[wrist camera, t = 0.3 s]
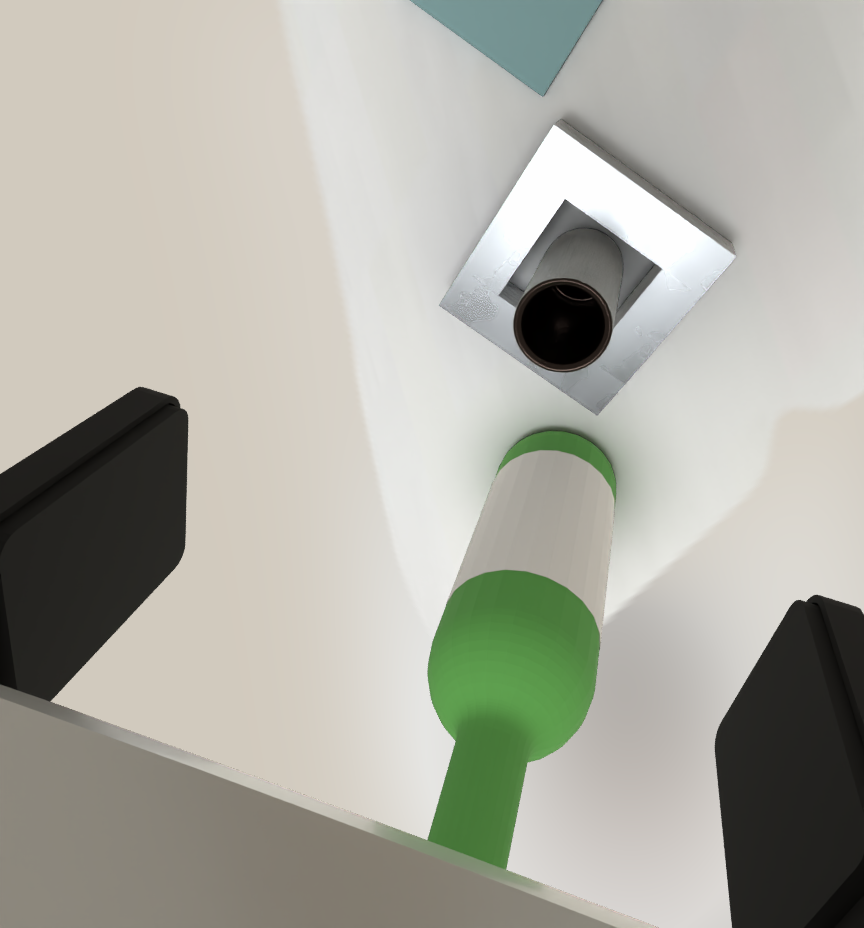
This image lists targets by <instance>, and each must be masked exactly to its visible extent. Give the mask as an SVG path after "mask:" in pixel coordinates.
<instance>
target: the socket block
mask: <svg viewBox="0 0 864 928" xmlns="http://www.w3.org/2000/svg"><path fill="white" fill-rule="evenodd" d="M564 199H566V200H567V201H569V202H570V203H572V204H573V205H574V206H576V207H577V208H579V209H580V210H581V211H583V212H584V213H585V214H587V215H588V216H590V217H591V218H592V219H594V220H595V221H597V222H598V223H599V224H601V225H602V226H604V227H605V228H606V229H608V230H609V231H611V232H612V233H613V234H615V235H616V236H618V237H619V238H620V239H622V240H623V241H625V242H626V243H627V244H629V245H630V246H632V247H633V248H634V249H636V250H637V251H638V252H640V253H641V254H643V255H644V256H645V257H647V258H648V259H650V260H651V261H652V262H654V263H655V265H654V266H653V267H652V269H651V270H650V271H649V272H648V274H647V275H646V276H645V277H644V278H643V280H642V281H641V282H640V283H639V285H638V286H637V287H636V288H635V290H634V291H633V292H632V293H631V295H630V296H629V297H628V298H627V299H626V301H625V302H624V303H623V304H622V306H621V307H620V308H619V309H618V311H617V312H616V317H615V322H614V328H613V333H612V337H611V341H610V343H609V345H608V347H607V349H606V350H605V352H604V353H603V355H602V356H601V357H600V358H599V359H598V360H597V361H595V362H594V363H593V364H591V365H590V366H588V367H586V368H584V369H581V370H578V371H574V372H568V373H559V372H552V371H548V370H545V369H543V368H541V367H539V366H537V365H535V364H534V363H532V362H531V361H530V360H529V359H528V358H527V357H526V356H525V355H524V354H523V353H522V351H521V350H520V348H519V346H518V344H517V342H516V340H515V336H514V332H513V318H514V313H515V310H516V307H517V305H518V303H519V301H520V299H521V297H522V295H523V293H524V292H523V291H522V290H520V289H519V288H517V287H516V286H515V285H513V284H512V283H510V282H509V279H510V278H511V277H512V275H513V274H514V272H515V271H516V269H517V268H518V266H519V265H520V263H521V262H522V261H523V259H524V258H525V256H526V255H527V253H528V252H529V250H530V249H531V247H532V246H533V245H534V243H535V242H536V240H537V239H538V237H539V236H540V234H541V233H542V231H543V230H544V229H545V227H546V226H547V224H548V223H549V221H550V220H551V218H552V217H553V215H554V214H555V213H556V211H557V210H558V208H559V207H560V205H561V204H562V202H563V201H564ZM735 258H736V254H735V251H734V248H733V245H732V243H731V242H730V241H729V240H727V239H726V238H724V237H723V236H722V235H720V234H719V233H717V232H716V231H715V230H713V229H712V228H711V227H709V226H708V225H706V224H705V223H704V222H702V221H701V220H700V219H698V218H697V217H695V216H694V215H693V214H691V213H690V212H689V211H687V210H686V209H684V208H683V207H682V206H680V205H679V204H678V203H676V202H675V201H673V200H672V199H671V198H669V197H668V196H666V195H665V194H664V193H662V192H661V191H660V190H658V189H657V188H655V187H654V186H653V185H651V184H650V183H649V182H647V181H646V180H644V179H643V178H642V177H640V176H639V175H638V174H636V173H635V172H633V171H632V170H631V169H629V168H628V167H627V166H625V165H624V164H622V163H621V162H620V161H618V160H617V159H615V158H614V157H613V156H611V155H610V154H609V153H607V152H606V151H604V150H603V149H602V148H600V147H599V146H598V145H596V144H595V143H593V142H592V141H591V140H589V139H588V138H587V137H585V136H584V135H582V134H581V133H580V132H578V131H577V130H575V129H574V128H573V127H571V126H570V125H569V124H567V123H566V122H564V121H563V120H562V119H560V120H559V121H558V122H557V123H555V124H554V125H553V127H552V128H551V130H550V132H549V133H548V135H547V136H546V138H545V139H544V141H543V143H542V144H541V146H540V147H539V149H538V150H537V152H536V154H535V155H534V157H533V158H532V160H531V161H530V163H529V164H528V166H527V168H526V169H525V171H524V172H523V174H522V175H521V177H520V179H519V180H518V182H517V183H516V185H515V186H514V188H513V190H512V191H511V193H510V194H509V196H508V197H507V199H506V201H505V202H504V204H503V205H502V207H501V208H500V210H499V212H498V213H497V215H496V216H495V218H494V219H493V221H492V223H491V224H490V226H489V227H488V229H487V230H486V232H485V234H484V235H483V237H482V238H481V240H480V241H479V243H478V244H477V246H476V248H475V249H474V251H473V252H472V254H471V255H470V257H469V259H468V260H467V262H466V263H465V265H464V266H463V268H462V270H461V271H460V273H459V274H458V276H457V277H456V279H455V281H454V282H453V284H452V285H451V287H450V288H449V290H448V292H447V293H446V295H445V296H444V298H443V299H442V301H441V303H440V304H439V306H440V307H442V308H443V309H445V310H446V311H448V312H449V313H450V314H452V315H453V316H455V317H456V318H458V319H459V320H461V321H462V322H463V323H465V324H466V325H468V326H469V327H471V328H472V329H473V330H475V331H476V332H478V333H479V334H481V335H482V336H483V337H485V338H486V339H488V340H489V341H491V342H492V343H494V344H495V345H496V346H498V347H499V348H501V349H502V350H504V351H505V352H506V353H508V354H509V355H511V356H512V357H514V358H515V359H517V360H518V361H519V362H521V363H522V364H524V365H525V366H527V367H528V368H529V369H531V370H532V371H534V372H535V373H537V374H538V375H540V376H541V377H542V378H544V379H545V380H547V381H548V382H550V383H551V384H552V385H554V386H555V387H557V388H558V389H560V390H561V391H562V392H564V393H565V394H567V395H568V396H570V397H571V398H573V399H574V400H575V401H577V402H578V403H580V404H581V405H583V406H584V407H585V408H587V409H588V410H590V411H591V412H593V413H594V414H596V415H598V414H599V413H600V412H601V411H602V410H603V409H604V407H605V406H606V405H607V404H608V403H609V402H610V401H611V399H612V398H613V397H614V396H615V395H616V394H617V393H618V391H619V390H620V389H621V388H622V387H623V386H624V385H625V383H626V382H627V381H628V380H629V379H630V378H631V377H632V375H633V374H634V373H635V372H636V371H637V370H638V369H639V367H640V366H641V365H642V364H643V363H644V362H645V361H646V360H647V358H648V357H649V356H650V355H651V354H652V353H653V352H654V350H655V349H656V348H657V347H658V346H659V345H660V344H661V342H662V341H663V340H664V339H665V338H666V337H667V336H668V334H669V333H670V332H671V331H672V330H673V329H674V328H675V326H676V325H677V324H678V323H679V322H680V321H681V320H682V319H683V317H684V316H685V315H686V314H687V313H688V312H689V311H690V309H691V308H692V307H693V306H694V305H695V304H696V303H697V301H698V300H699V299H700V298H701V297H702V296H703V295H704V293H705V292H706V291H707V290H708V289H709V288H710V287H711V285H712V284H713V283H714V282H715V281H716V280H717V279H718V277H719V276H720V275H721V274H722V273H723V272H724V271H725V270H726V268H727V267H728V266H729V265H730V264H731V263H732V262H733V260H734V259H735Z"/></svg>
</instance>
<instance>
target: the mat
mask: <svg viewBox="0 0 864 928" xmlns="http://www.w3.org/2000/svg"><path fill="white" fill-rule="evenodd" d="M410 1H411V2H413V3H414V4H416V5H417V6H418V7H420V8H421V9H422V10H424V11H425V12H427V13H428V14H429V15H431V16H432V17H433V18H435V19H436V20H438V21H439V22H440V23H442V24H443V25H444V26H446V27H447V28H449V29H450V30H451V31H453V32H454V33H455V34H457V35H458V36H460V37H461V38H462V39H464V40H465V41H467V42H468V43H469V44H471V45H472V46H473V47H475V48H476V49H478V50H479V51H480V52H482V53H483V54H484V55H486V56H487V57H489V58H490V59H491V60H493V61H494V62H495V63H497V64H498V65H500V66H501V67H502V68H504V69H505V70H506V71H508V72H509V73H511V74H512V75H513V76H515V77H516V78H517V79H519V80H520V81H522V82H523V83H524V84H526V85H527V86H528V87H530V88H531V89H533V90H534V91H535V92H537V93H538V94H539V95H541V96H542V97H543V96H544V95H545V93H546V91H547V90H548V88H549V87H550V85H551V83H552V82H553V80H554V78H555V77H556V75H557V74H558V72H559V70H560V69H561V67H562V65H563V64H564V62H565V61H566V59H567V57H568V56H569V54H570V52H571V51H572V49H573V48H574V46H575V44H576V43H577V41H578V39H579V38H580V36H581V35H582V33H583V31H584V30H585V28H586V26H587V25H588V23H589V22H590V20H591V18H592V17H593V15H594V13H595V12H596V10H597V9H598V7H599V5H600V4H601V2H602V0H410Z"/></svg>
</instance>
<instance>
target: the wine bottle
mask: <svg viewBox="0 0 864 928" xmlns="http://www.w3.org/2000/svg"><path fill="white" fill-rule="evenodd" d="M615 500H616V480H615V477H614V473H613V470H612V467H611V464H610V463H609V461H608V460H607V458H606V457H605V455H604V454H603V452H602V451H600V450H599V449H598V448H597V447H596V446H595V445H594V444H593V443H591V442H590V441H588V440H586V439H584V438H582V437H580V436H578V435H575V434H571V433H567V432H563V431H545V432H541V433H536V434H532V435H531V436H529V437H527V438H525V439H523V440H521V441H519V442H518V443H517V444H516V445H515V446H514V447H513V448H511V449H510V450H509V451H508V452H507V454H506V456H505V458H504V459H503V461H502V463H501V464H500V466H499V469H498V471H497V474H496V477H495V479H494V481H493V483H492V486H491V488H490V491H489V494H488V496H487V499H486V501H485V504H484V507H483V509H482V512H481V515H480V517H479V520H478V522H477V525H476V528H475V530H474V533H473V536H472V538H471V541H470V543H469V546H468V549H467V551H466V554H465V556H464V559H463V562H462V564H461V567H460V570H459V572H458V575H457V577H456V580H455V583H454V585H453V588H452V591H451V593H450V596H449V598H448V601H447V604H446V608H445V610H444V613H443V616H442V618H441V621H440V623H439V626H438V629H437V631H436V634H435V637H434V639H433V643H432V647H431V652H430V657H429V663H428V682H429V689H430V695H431V700H432V703H433V706H434V708H435V710H436V712H437V715H438V717H439V719H440V721H441V723H442V724H443V726H444V728H445V729H446V730H447V731H448V732H449V734H450V735H451V736H452V737H453V738H454V740H455V741H456V742H455V746H454V749H453V753H452V756H451V760H450V763H449V767H448V770H447V774H446V777H445V781H444V784H443V788H442V791H441V795H440V798H439V802H438V805H437V809H436V813H435V816H434V819H433V823H432V826H431V830H430V833H429V837H428V841H430V842H433V843H436V844H438V845H441V846H444V847H447V848H449V849H452V850H455V851H457V852H460V853H463V854H465V855H468V856H470V857H473V858H476V859H478V860H481V861H484V862H486V863H489V864H492V865H494V866H497V867H500V868H502V869H505V870H506V867H507V862H508V857H509V852H510V847H511V842H512V837H513V832H514V827H515V822H516V817H517V812H518V807H519V801H520V797H521V792H522V787H523V782H524V776H525V772H526V767H527V762H531V761H535V760H539V759H541V758H544V757H545V756H547V755H549V754H551V753H553V752H554V751H556V750H558V749H559V748H561V747H562V746H563V745H564V744H565V743H566V742H567V741H568V740H569V739H570V738H571V737H572V736H573V734H575V732H576V731H577V730H578V729H579V728H580V726H581V725H582V723H583V721H584V719H585V717H586V715H587V712H588V709H589V707H590V704H591V701H592V699H593V695H594V691H595V683H596V675H597V666H598V656H599V650H600V643H601V634H602V625H603V615H604V606H605V597H606V588H607V578H608V569H609V560H610V551H611V542H612V532H613V523H614V509H615Z"/></svg>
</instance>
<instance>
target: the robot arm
mask: <svg viewBox="0 0 864 928" xmlns="http://www.w3.org/2000/svg"><path fill="white" fill-rule="evenodd" d="M187 452H188V414H187V412H186V411H185V410H184V409H181V408H180V404H179V401H178V399H177V398H175V397H173V396H170V395H167V394H163V393H160V392H157V391H154V390H151V389H147V388H144V387H138V388H135V389H134V390H132V391H130V392H129V393H127V394H126V395H124V396H123V397H121V398H120V399H118V400H116V401H115V402H113V403H112V404H110V405H108V406H107V407H105V408H104V409H102V410H101V411H99V412H97V413H96V414H94V415H93V416H91V417H89V418H88V419H86V420H85V421H83V422H82V423H80V424H78V425H77V426H75V427H74V428H72V429H71V430H69V431H67V432H66V433H64V434H63V435H61V436H60V437H58V438H57V439H55V440H53V441H52V442H50V443H49V444H47V445H46V446H44V447H42V448H41V449H39V450H38V451H36V452H34V453H33V454H31V455H30V456H28V457H26V458H25V459H23V460H22V461H20V462H19V463H17V464H15V465H14V466H12V467H11V468H9V469H8V470H6V471H5V472H3V473H1V474H0V928H658V927H656V926H653V925H651V924H648V923H645V922H643V921H640V920H638V919H635V918H632V917H630V916H627V915H624V914H622V913H619V912H616V911H614V910H611V909H608V908H606V907H603V906H600V905H598V904H595V903H592V902H590V901H587V900H585V899H582V898H579V897H576V896H574V895H571V894H569V893H566V892H563V891H561V890H558V889H555V888H553V887H550V886H547V885H545V884H542V883H539V882H537V881H534V880H531V879H529V878H526V877H523V876H521V875H518V874H516V873H513V872H510V871H508V870H505V869H502V868H500V867H497V866H494V865H492V864H489V863H486V862H484V861H481V860H478V859H476V858H473V857H470V856H468V855H465V854H463V853H460V852H457V851H455V850H452V849H449V848H447V847H444V846H441V845H438V844H436V843H433V842H430V841H428V840H425V839H422V838H420V837H417V836H414V835H412V834H409V833H406V832H403V831H401V830H398V829H395V828H393V827H390V826H387V825H385V824H382V823H379V822H377V821H374V820H371V819H368V818H365V817H363V816H360V815H358V814H355V813H352V812H349V811H347V810H344V809H342V808H339V807H336V806H334V805H331V804H328V803H325V802H323V801H320V800H317V799H315V798H312V797H309V796H307V795H304V794H301V793H298V792H296V791H293V790H290V789H288V788H285V787H282V786H279V785H277V784H274V783H271V782H269V781H266V780H263V779H261V778H258V777H255V776H252V775H250V774H247V773H244V772H241V771H239V770H236V769H234V768H231V767H228V766H225V765H223V764H220V763H217V762H214V761H212V760H209V759H206V758H203V757H201V756H198V755H195V754H192V753H190V752H187V751H184V750H181V749H178V748H176V747H173V746H170V745H168V744H165V743H162V742H159V741H157V740H154V739H151V738H149V737H146V736H143V735H140V734H138V733H135V732H132V731H129V730H127V729H124V728H121V727H118V726H116V725H113V724H110V723H107V722H105V721H102V720H99V719H96V718H94V717H91V716H88V715H85V714H83V713H80V712H77V711H75V710H72V709H69V708H66V707H64V706H61V705H58V704H55V703H52V702H50V701H51V700H52V699H53V698H54V697H55V696H56V695H57V694H58V693H59V691H61V689H62V688H63V687H64V686H65V685H66V684H67V683H68V682H69V681H70V680H71V679H72V678H73V677H74V676H75V674H76V673H77V672H78V671H79V670H80V669H81V668H82V667H83V666H84V665H85V664H86V662H88V661H89V660H90V658H91V657H92V656H93V655H94V654H95V653H96V652H97V651H98V650H99V649H100V648H101V647H102V646H103V645H104V643H105V642H106V641H107V640H108V639H109V638H110V637H111V636H112V635H113V634H114V633H115V632H116V631H117V630H118V628H119V627H120V626H121V625H122V624H123V623H124V622H125V621H126V620H127V619H128V618H129V617H130V616H131V615H132V614H133V612H134V611H135V610H136V609H137V608H138V607H139V606H140V605H141V604H142V603H143V602H144V601H145V599H146V598H148V596H149V595H150V594H151V593H152V592H153V591H154V590H155V589H156V588H157V587H158V586H159V585H160V584H161V583H162V582H163V581H164V579H165V578H166V577H167V576H168V575H169V574H170V573H171V572H172V571H173V570H174V569H175V567H176V566H177V565H178V564H179V562H180V560H181V558H182V556H183V553H184V549H185V534H186V493H187ZM715 757H716V766H717V777H718V788H719V797H720V808H721V818H722V828H723V837H724V848H725V860H726V869H727V879H728V890H729V900H730V911H731V921H732V928H864V614H863V613H862V611H861V609H860V608H858V607H856V606H852V605H849V604H846V603H842V602H839V601H835V600H833V599H829V598H826V597H823V596H820V595H814V596H812V597H810V598H809V599H808V600H807V602H805V601H801V600H796V601H795V602H794V603H793V604H792V605H791V606H790V608H789V610H788V611H787V613H786V615H785V617H784V618H783V620H782V621H781V623H780V625H779V626H778V628H777V630H776V631H775V633H774V635H773V637H772V638H771V640H770V642H769V643H768V645H767V646H766V648H765V650H764V651H763V653H762V655H761V657H760V658H759V660H758V662H757V663H756V665H755V667H754V668H753V670H752V671H751V673H750V675H749V677H748V678H747V680H746V682H745V683H744V685H743V687H742V688H741V690H740V692H739V693H738V695H737V697H736V698H735V700H734V702H733V703H732V705H731V707H730V708H729V710H728V712H727V713H726V715H725V717H724V718H723V720H722V722H721V724H720V726H719V728H718V731H717V734H716V739H715Z"/></svg>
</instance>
